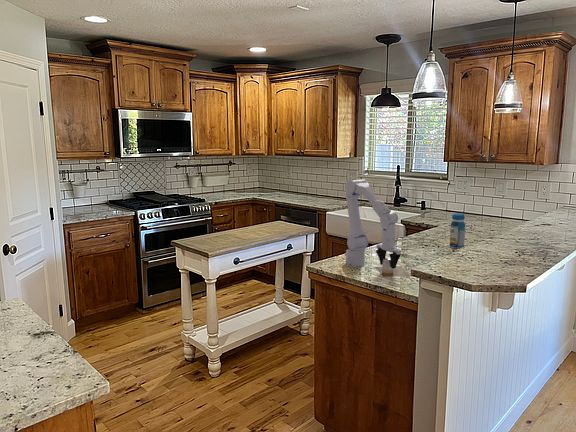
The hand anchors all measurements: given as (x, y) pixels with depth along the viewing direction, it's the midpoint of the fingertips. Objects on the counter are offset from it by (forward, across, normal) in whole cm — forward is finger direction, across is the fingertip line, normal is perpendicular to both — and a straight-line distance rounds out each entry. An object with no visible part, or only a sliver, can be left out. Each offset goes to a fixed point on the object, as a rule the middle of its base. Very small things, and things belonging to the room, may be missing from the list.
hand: (388, 266), depth 211 cm
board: (+5, +1, -4) cm, 6 cm away
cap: (+1, 0, 0) cm, 1 cm away
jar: (+3, 0, 0) cm, 3 cm away
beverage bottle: (+5, +20, -72) cm, 75 cm away
